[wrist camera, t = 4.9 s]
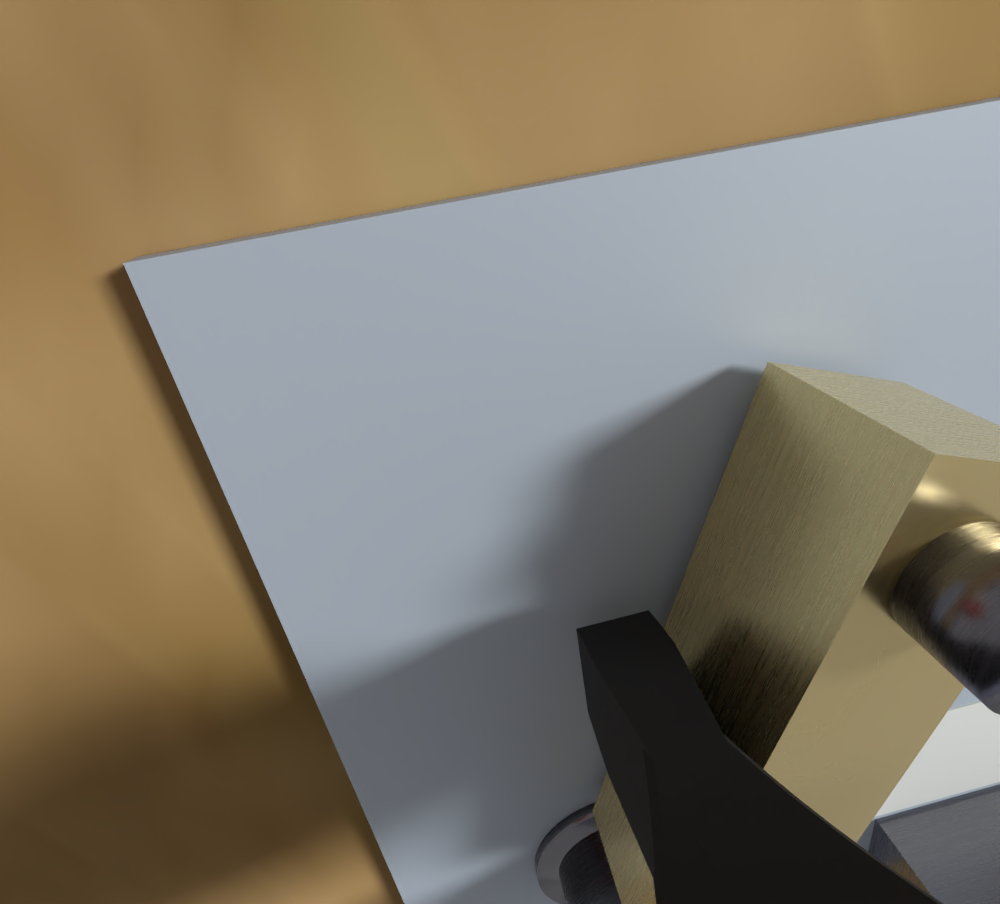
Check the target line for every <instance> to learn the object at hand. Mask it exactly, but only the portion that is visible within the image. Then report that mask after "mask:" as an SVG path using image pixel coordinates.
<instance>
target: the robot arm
mask: <svg viewBox="0 0 1000 904" xmlns="http://www.w3.org/2000/svg"><path fill="white" fill-rule="evenodd" d="M576 631H577V638H578V645H579V652H580V659H581V666H582V674H583V681H584V688H585V695H586V702H587V709H588V714H589V717H590V720H591V723H592V726H593V730H594V733H595V736H596V739H597V742H598V745H599V748H600V751H601V754H602V757H603V760H604V763H605V766H606V769H607V772H608V775H609V778H610V780H611V782H612V785H613V787H614V789H615V792H616V794H617V796H618V799H619V801H620V803H621V805H622V808H623V810H624V812H625V815H626V817H627V819H628V822H629V824H630V826H631V829H632V831H633V833H634V835H635V838H636V840H637V842H638V845H639V847H640V849H641V852H642V854H643V856H644V858H645V861H646V863H647V865H648V868H649V870H650V872H651V875H652V877H653V881H654V890H655V898H656V904H943V903H942V902H940V901H939V900H937V899H936V898H934V897H933V896H931V895H930V894H928V893H927V892H925V891H924V890H922V889H921V888H920V887H918V886H917V885H915V884H914V883H912V882H911V881H909V880H908V879H906V878H905V877H903V876H902V875H900V874H899V873H897V872H896V871H894V870H893V869H892V868H890V867H889V866H887V865H886V864H884V863H883V862H882V861H880V860H879V859H878V858H876V857H875V856H874V855H872V854H871V853H869V852H868V851H867V850H865V849H864V848H863V847H861V846H860V845H859V844H857V843H856V842H855V841H853V840H852V839H851V838H849V837H848V836H846V835H845V834H844V833H842V832H841V831H840V830H838V829H837V828H836V827H834V826H833V825H832V824H831V823H829V822H828V821H827V820H825V819H824V818H823V817H822V816H820V815H819V814H818V813H817V812H815V811H814V810H813V809H811V808H810V807H809V806H808V805H806V804H805V803H804V802H802V801H801V800H800V799H799V798H797V797H796V796H795V795H794V794H793V793H791V792H790V791H789V790H788V789H786V788H785V787H784V786H783V785H782V784H780V783H779V782H778V781H777V780H776V779H774V778H773V777H772V776H771V775H770V774H769V773H767V772H766V771H765V770H764V769H763V768H762V767H760V766H759V765H758V764H757V763H756V762H755V761H754V760H752V759H751V758H750V757H749V756H748V755H747V754H746V753H744V752H743V751H742V750H741V749H740V748H739V747H738V746H736V745H735V744H734V743H733V742H732V741H731V740H730V739H729V738H728V737H727V736H726V735H724V734H723V732H722V730H721V728H720V726H719V725H718V723H717V721H716V719H715V717H714V715H713V713H712V711H711V709H710V708H709V706H708V704H707V702H706V700H705V698H704V696H703V694H702V693H701V691H700V689H699V687H698V685H697V683H696V681H695V679H694V677H693V676H692V674H691V672H690V670H689V668H688V666H687V665H686V663H685V661H684V659H683V657H682V655H681V653H680V652H679V650H678V648H677V646H676V644H675V643H674V641H673V640H672V639H671V637H670V636H669V635H668V634H667V632H666V631H665V630H664V628H663V627H662V626H661V624H660V623H659V622H658V621H657V620H656V619H655V617H654V616H653V615H652V614H651V613H650V611H649V610H647V611H643V612H640V613H636V614H632V615H628V616H624V617H620V618H616V619H613V620H608V621H604V622H601V623H597V624H593V625H589V626H585V627H581V628H577V629H576Z"/></svg>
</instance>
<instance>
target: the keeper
mask: <svg viewBox="0 0 1000 904" xmlns="http://www.w3.org/2000/svg"><path fill="white" fill-rule="evenodd" d="M868 852H869V853H871V854H872V855H874V856H875V857H876V858H878V859H879V860H880V861H882V862H883V863H884V864H886V865H887V866H889V867H890V868H892V869H893V870H894V871H896V872H897V873H899V874H900V875H902V876H903V877H905V878H906V879H908V880H909V881H911V882H912V883H914V884H915V885H917V886H918V887H920V888H921V889H922V890H924V891H925V892H927V893H928V894H930V895H931V896H933V897H934V898H936V899H937V900H939V901H940V902H942V903H943V904H1000V784H998V785H995V786H991V787H988V788H984V789H981V790H977V791H974V792H970V793H966V794H963V795H959V796H956V797H952V798H949V799H945V800H942V801H938V802H935V803H931V804H928V805H924V806H920V807H917V808H913V809H910V810H906V811H903V812H899V813H896V814H892V815H889V816H885V817H881V818H878V819H876V820H875V824H874V828H873V833H872V837H871V841H870V846H869V850H868Z"/></svg>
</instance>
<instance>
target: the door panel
mask: <svg viewBox="0 0 1000 904" xmlns="http://www.w3.org/2000/svg"><path fill="white" fill-rule="evenodd" d="M123 264H124V267H125V269H126V271H127V274H128V276H129V278H130V280H131V283H132V285H133V287H134V289H135V292H136V294H137V296H138V299H139V301H140V303H141V305H142V308H143V310H144V312H145V315H146V317H147V319H148V321H149V324H150V326H151V328H152V330H153V333H154V335H155V337H156V340H157V342H158V344H159V346H160V349H161V351H162V353H163V355H164V358H165V360H166V362H167V365H168V367H169V369H170V371H171V374H172V376H173V378H174V381H175V383H176V385H177V387H178V390H179V392H180V394H181V396H182V399H183V401H184V403H185V406H186V408H187V410H188V412H189V415H190V417H191V419H192V421H193V424H194V426H195V428H196V431H197V433H198V435H199V437H200V440H201V442H202V444H203V447H204V449H205V451H206V453H207V456H208V458H209V460H210V462H211V465H212V467H213V469H214V472H215V474H216V476H217V478H218V481H219V483H220V485H221V487H222V490H223V492H224V494H225V497H226V499H227V501H228V503H229V506H230V508H231V510H232V513H233V515H234V517H235V519H236V522H237V524H238V526H239V528H240V531H241V533H242V535H243V538H244V540H245V542H246V544H247V547H248V549H249V551H250V553H251V556H252V558H253V560H254V563H255V565H256V567H257V569H258V572H259V574H260V576H261V579H262V581H263V583H264V585H265V588H266V590H267V592H268V594H269V597H270V599H271V601H272V604H273V606H274V608H275V610H276V613H277V615H278V617H279V620H280V622H281V624H282V626H283V629H284V631H285V633H286V635H287V638H288V640H289V642H290V645H291V647H292V649H293V651H294V654H295V656H296V658H297V660H298V663H299V665H300V667H301V670H302V672H303V674H304V676H305V679H306V681H307V683H308V686H309V688H310V690H311V692H312V695H313V697H314V699H315V701H316V704H317V706H318V708H319V711H320V713H321V715H322V717H323V720H324V722H325V724H326V726H327V729H328V731H329V733H330V736H331V738H332V740H333V742H334V745H335V747H336V749H337V752H338V754H339V756H340V758H341V761H342V763H343V765H344V767H345V770H346V772H347V774H348V777H349V779H350V781H351V783H352V786H353V788H354V790H355V792H356V795H357V797H358V799H359V802H360V804H361V806H362V808H363V811H364V813H365V815H366V818H367V820H368V822H369V824H370V827H371V829H372V831H373V833H374V836H375V838H376V840H377V843H378V845H379V847H380V849H381V852H382V854H383V856H384V859H385V861H386V863H387V865H388V868H389V870H390V872H391V874H392V877H393V879H394V881H395V884H396V886H397V888H398V890H399V893H400V895H401V897H402V899H403V902H404V904H560V903H557V902H555V901H553V900H552V899H550V898H549V897H547V896H546V895H545V894H544V893H543V891H542V890H541V888H540V886H539V883H538V879H537V874H536V869H535V855H536V852H537V849H538V847H539V845H540V843H541V841H542V840H543V839H544V837H545V836H546V835H547V834H548V832H549V831H550V830H551V829H552V828H553V827H554V826H556V825H557V824H558V823H559V822H560V821H562V820H563V819H564V818H566V817H567V816H569V815H570V814H572V813H574V812H575V811H577V810H579V809H581V808H583V807H585V806H587V805H590V804H592V803H595V802H596V800H597V797H598V795H599V792H600V790H601V787H602V785H603V782H604V779H605V777H606V774H607V769H606V766H605V763H604V760H603V757H602V754H601V751H600V748H599V745H598V742H597V739H596V736H595V733H594V730H593V726H592V723H591V720H590V717H589V714H588V709H587V702H586V695H585V688H584V681H583V674H582V666H581V659H580V652H579V645H578V638H577V631H576V629H577V628H581V627H585V626H589V625H593V624H597V623H601V622H604V621H608V620H613V619H616V618H620V617H624V616H628V615H632V614H636V613H640V612H643V611H647V610H649V611H650V613H651V614H652V615H653V616H654V617H655V619H656V620H657V621H658V622H659V623H660V624H661V626H662V627H663V628H664V626H665V623H666V621H667V618H668V616H669V613H670V610H671V608H672V605H673V603H674V600H675V598H676V595H677V593H678V590H679V587H680V585H681V582H682V580H683V577H684V575H685V572H686V570H687V567H688V564H689V562H690V559H691V557H692V554H693V552H694V549H695V546H696V544H697V541H698V539H699V536H700V534H701V531H702V529H703V526H704V523H705V521H706V518H707V516H708V513H709V511H710V508H711V505H712V503H713V500H714V498H715V495H716V493H717V490H718V488H719V485H720V482H721V480H722V477H723V475H724V472H725V470H726V467H727V465H728V462H729V459H730V457H731V454H732V452H733V449H734V447H735V444H736V441H737V439H738V436H739V434H740V431H741V429H742V426H743V424H744V421H745V418H746V416H747V413H748V411H749V408H750V406H751V403H752V401H753V398H754V395H755V393H756V390H757V388H758V385H759V383H760V380H761V377H762V375H763V372H764V370H765V367H766V365H767V362H775V363H781V364H788V365H794V366H801V367H807V368H814V369H820V370H827V371H833V372H840V373H846V374H853V375H859V376H865V377H872V378H878V379H885V380H891V381H898V382H903V383H906V384H908V385H910V386H912V387H915V388H917V389H919V390H921V391H924V392H926V393H928V394H930V395H933V396H935V397H937V398H939V399H941V400H944V401H946V402H948V403H950V404H953V405H955V406H957V407H959V408H962V409H964V410H966V411H968V412H970V413H973V414H975V415H977V416H979V417H982V418H984V419H986V420H988V421H991V422H993V423H995V424H997V425H1000V97H996V98H991V99H985V100H980V101H974V102H969V103H964V104H958V105H953V106H947V107H942V108H937V109H931V110H926V111H921V112H915V113H910V114H904V115H899V116H894V117H888V118H883V119H877V120H872V121H867V122H861V123H856V124H850V125H845V126H840V127H834V128H829V129H824V130H818V131H813V132H807V133H802V134H797V135H791V136H786V137H780V138H775V139H770V140H764V141H759V142H754V143H748V144H743V145H737V146H732V147H727V148H721V149H716V150H710V151H705V152H700V153H694V154H689V155H683V156H678V157H673V158H667V159H662V160H657V161H651V162H646V163H640V164H635V165H630V166H624V167H619V168H613V169H608V170H603V171H597V172H592V173H586V174H581V175H576V176H570V177H565V178H560V179H554V180H549V181H543V182H538V183H533V184H527V185H522V186H516V187H511V188H506V189H500V190H495V191H489V192H484V193H479V194H473V195H468V196H463V197H457V198H452V199H446V200H441V201H436V202H430V203H425V204H419V205H414V206H409V207H403V208H398V209H392V210H387V211H382V212H376V213H371V214H366V215H360V216H355V217H349V218H344V219H339V220H333V221H328V222H322V223H317V224H312V225H306V226H301V227H296V228H290V229H285V230H279V231H274V232H269V233H263V234H258V235H252V236H247V237H242V238H236V239H231V240H225V241H220V242H215V243H209V244H204V245H199V246H193V247H188V248H182V249H177V250H172V251H166V252H161V253H155V254H150V255H145V256H139V257H136V258H134V259H132V260H129V261H127V262H125V263H123ZM998 784H1000V715H999V714H997V713H994V712H993V711H991V710H990V709H988V708H987V707H986V706H985V705H984V704H983V703H982V702H981V701H980V700H979V699H978V698H977V697H975V696H974V695H973V694H972V693H971V692H970V691H969V690H968V689H967V688H966V687H964V688H963V690H962V691H961V693H960V694H959V696H958V697H957V699H956V700H955V701H954V703H953V704H952V706H951V707H950V709H949V710H948V712H947V713H946V714H945V716H944V717H943V719H942V720H941V722H940V723H939V725H938V726H937V727H936V729H935V730H934V732H933V733H932V735H931V736H930V738H929V739H928V740H927V742H926V743H925V745H924V746H923V748H922V749H921V751H920V752H919V753H918V755H917V756H916V758H915V759H914V761H913V762H912V763H911V765H910V766H909V768H908V769H907V771H906V772H905V774H904V775H903V776H902V778H901V779H900V781H899V782H898V784H897V785H896V787H895V788H894V789H893V791H892V792H891V794H890V795H889V797H888V798H887V800H886V801H885V802H884V804H883V805H882V807H881V808H880V810H879V811H878V813H877V814H876V815H875V817H874V818H873V820H872V821H871V823H870V824H869V826H868V827H867V828H866V830H865V831H864V833H863V834H862V836H861V837H860V838H859V840H858V841H857V844H859V845H860V846H861V847H863V848H864V849H865V850H867V851H868V850H869V846H870V841H871V837H872V833H873V828H874V824H875V820H876V819H878V818H881V817H885V816H889V815H892V814H896V813H899V812H903V811H906V810H910V809H913V808H917V807H920V806H924V805H928V804H931V803H935V802H938V801H942V800H945V799H949V798H952V797H956V796H959V795H963V794H966V793H970V792H974V791H977V790H981V789H984V788H988V787H991V786H995V785H998Z"/></svg>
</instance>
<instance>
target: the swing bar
mask: <svg viewBox="0 0 1000 904" xmlns="http://www.w3.org/2000/svg"><path fill="white" fill-rule="evenodd" d="M664 630H665V631H666V632H667V634H668V635H669V636H670V637H671V639H672V640H673V641H674V643H675V644H676V646H677V648H678V650H679V652H680V653H681V655H682V657H683V659H684V661H685V663H686V665H687V666H688V668H689V670H690V672H691V674H692V676H693V677H694V679H695V681H696V683H697V685H698V687H699V689H700V691H701V693H702V694H703V696H704V698H705V700H706V702H707V704H708V706H709V708H710V709H711V711H712V713H713V715H714V717H715V719H716V721H717V723H718V725H719V726H720V728H721V730H722V732H723V734H724V735H726V736H727V737H728V738H729V739H730V740H731V741H732V742H733V743H734V744H735V745H736V746H738V747H739V748H740V749H741V750H742V751H743V752H744V753H746V754H747V755H748V756H749V757H750V758H751V759H752V760H754V761H755V762H756V763H757V764H758V765H759V766H760V767H762V768H763V769H764V770H765V771H766V772H767V773H769V774H770V775H771V776H772V777H773V778H774V779H776V780H777V781H778V782H779V783H780V784H782V785H783V786H784V787H785V788H786V789H788V790H789V791H790V792H791V793H793V794H794V795H795V796H796V797H797V798H799V799H800V800H801V801H802V802H804V803H805V804H806V805H808V806H809V807H810V808H811V809H813V810H814V811H815V812H817V813H818V814H819V815H820V816H822V817H823V818H824V819H825V820H827V821H828V822H829V823H831V824H832V825H833V826H834V827H836V828H837V829H838V830H840V831H841V832H842V833H844V834H845V835H846V836H848V837H849V838H851V839H852V840H853V841H855V842H856V843H857V841H858V840H859V838H860V837H861V836H862V834H863V833H864V831H865V830H866V828H867V827H868V826H869V824H870V823H871V821H872V820H873V818H874V817H875V815H876V814H877V813H878V811H879V810H880V808H881V807H882V805H883V804H884V802H885V801H886V800H887V798H888V797H889V795H890V794H891V792H892V791H893V789H894V788H895V787H896V785H897V784H898V782H899V781H900V779H901V778H902V776H903V775H904V774H905V772H906V771H907V769H908V768H909V766H910V765H911V763H912V762H913V761H914V759H915V758H916V756H917V755H918V753H919V752H920V751H921V749H922V748H923V746H924V745H925V743H926V742H927V740H928V739H929V738H930V736H931V735H932V733H933V732H934V730H935V729H936V727H937V726H938V725H939V723H940V722H941V720H942V719H943V717H944V716H945V714H946V713H947V712H948V710H949V709H950V707H951V706H952V704H953V703H954V701H955V700H956V699H957V697H958V696H959V694H960V693H961V691H962V690H963V688H964V687H966V688H967V689H968V690H969V691H970V692H971V693H972V694H973V695H974V696H975V697H977V698H978V699H979V700H980V701H981V702H982V703H983V704H984V705H985V706H986V707H987V708H988V709H990V710H991V711H993V712H994V713H997V714H999V715H1000V425H997V424H995V423H993V422H991V421H988V420H986V419H984V418H982V417H979V416H977V415H975V414H973V413H970V412H968V411H966V410H964V409H962V408H959V407H957V406H955V405H953V404H950V403H948V402H946V401H944V400H941V399H939V398H937V397H935V396H933V395H930V394H928V393H926V392H924V391H921V390H919V389H917V388H915V387H912V386H910V385H908V384H906V383H903V382H898V381H891V380H885V379H878V378H872V377H865V376H859V375H853V374H846V373H840V372H833V371H827V370H820V369H814V368H807V367H801V366H794V365H788V364H781V363H775V362H767V365H766V367H765V370H764V372H763V375H762V377H761V380H760V383H759V385H758V388H757V390H756V393H755V395H754V398H753V401H752V403H751V406H750V408H749V411H748V413H747V416H746V418H745V421H744V424H743V426H742V429H741V431H740V434H739V436H738V439H737V441H736V444H735V447H734V449H733V452H732V454H731V457H730V459H729V462H728V465H727V467H726V470H725V472H724V475H723V477H722V480H721V482H720V485H719V488H718V490H717V493H716V495H715V498H714V500H713V503H712V505H711V508H710V511H709V513H708V516H707V518H706V521H705V523H704V526H703V529H702V531H701V534H700V536H699V539H698V541H697V544H696V546H695V549H694V552H693V554H692V557H691V559H690V562H689V564H688V567H687V570H686V572H685V575H684V577H683V580H682V582H681V585H680V587H679V590H678V593H677V595H676V598H675V600H674V603H673V605H672V608H671V610H670V613H669V616H668V618H667V621H666V623H665V626H664ZM592 811H593V814H594V818H595V821H596V824H597V827H598V830H599V834H600V837H601V840H602V843H603V846H604V850H605V853H606V856H607V859H608V862H609V866H610V869H611V872H612V875H613V878H614V882H615V885H616V888H617V891H618V894H619V898H620V901H621V904H656V898H655V890H654V881H653V877H652V875H651V872H650V870H649V868H648V865H647V863H646V861H645V858H644V856H643V854H642V852H641V849H640V847H639V845H638V842H637V840H636V838H635V835H634V833H633V831H632V829H631V826H630V824H629V822H628V819H627V817H626V815H625V812H624V810H623V808H622V805H621V803H620V801H619V799H618V796H617V794H616V792H615V789H614V787H613V785H612V782H611V780H610V778H609V775H608V772H607V774H606V777H605V779H604V782H603V785H602V787H601V790H600V792H599V795H598V797H597V800H596V802H595V805H594V808H593V810H592Z"/></svg>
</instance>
